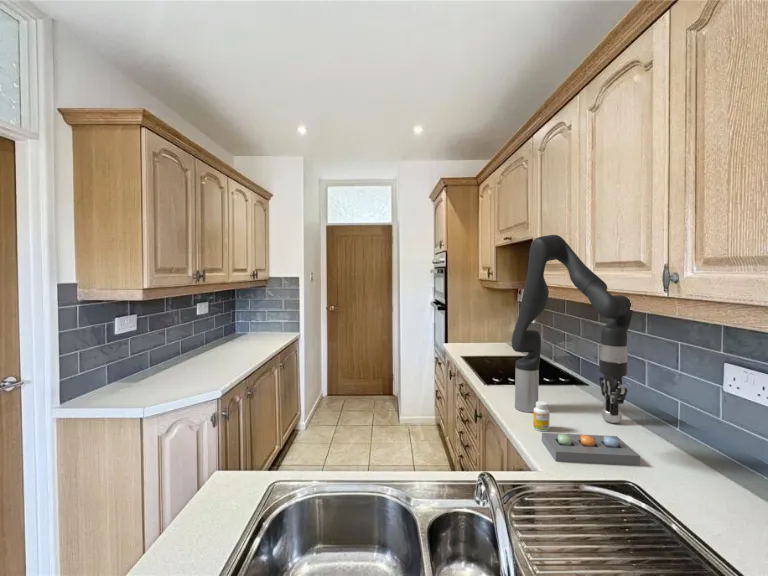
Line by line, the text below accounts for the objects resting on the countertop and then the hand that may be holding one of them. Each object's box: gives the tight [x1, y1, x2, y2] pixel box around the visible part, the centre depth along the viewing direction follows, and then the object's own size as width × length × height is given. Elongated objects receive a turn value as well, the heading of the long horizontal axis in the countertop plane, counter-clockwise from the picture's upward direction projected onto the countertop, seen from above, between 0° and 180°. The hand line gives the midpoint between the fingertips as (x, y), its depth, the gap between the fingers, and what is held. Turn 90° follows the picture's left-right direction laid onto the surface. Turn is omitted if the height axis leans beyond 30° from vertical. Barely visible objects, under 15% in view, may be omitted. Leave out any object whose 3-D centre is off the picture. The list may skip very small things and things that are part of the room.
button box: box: [541, 432, 641, 467], centre depth 123 cm, size 14×24×3 cm, turn 84°
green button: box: [558, 433, 572, 446], centre depth 123 cm, size 4×4×2 cm
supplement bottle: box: [532, 400, 550, 433], centre depth 141 cm, size 5×5×10 cm
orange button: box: [581, 434, 595, 447], centre depth 123 cm, size 4×4×2 cm
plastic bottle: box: [601, 397, 623, 424], centre depth 148 cm, size 6×7×20 cm
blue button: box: [603, 435, 619, 448], centre depth 122 cm, size 4×4×2 cm
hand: (611, 413), depth 121 cm, fingers open, 2 cm apart
